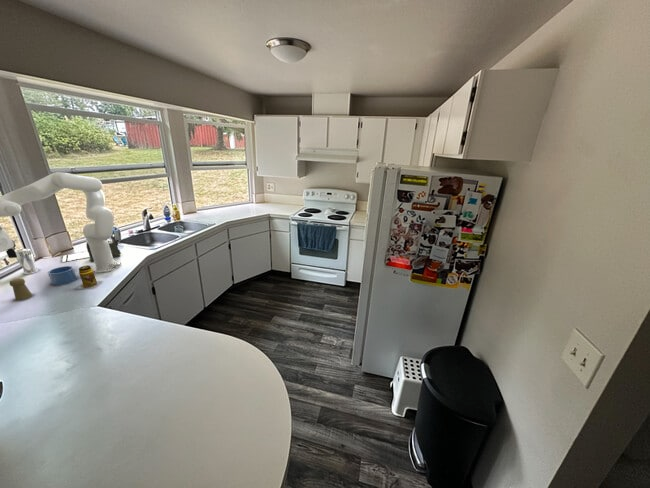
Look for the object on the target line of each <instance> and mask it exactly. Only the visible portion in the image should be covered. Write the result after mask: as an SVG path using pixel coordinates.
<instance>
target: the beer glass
mask: <svg viewBox="0 0 650 488" xmlns="http://www.w3.org/2000/svg"><path fill="white" fill-rule="evenodd" d="M15 252H16V255H17V257H16V258H15V259H16V261H17V262H18V263H19V264H20V266H21V267H22V270H23V274H24V275H29V274H34V273H37V272H39V269H38V267H37V266H36V263H35V256H34V253H33V251H32V250H31V248H19V249H15Z"/></svg>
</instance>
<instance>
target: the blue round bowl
mask: <svg viewBox="0 0 650 488" xmlns="http://www.w3.org/2000/svg"><path fill="white" fill-rule="evenodd" d="M47 274H48V277H49V280H50V282H51V285H53V286H62V285H68V284H71V283H73V282H75V281H76V280H77V275H76V272H75V270H74V267H73V266H70V265H64V266H58V267H55V268H53V269H50V270H48V271H47Z"/></svg>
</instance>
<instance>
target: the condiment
mask: <svg viewBox="0 0 650 488" xmlns="http://www.w3.org/2000/svg"><path fill="white" fill-rule="evenodd" d="M78 275H79V277H80V281H81V285H79V286H78V287H77V288H76V290H81V289H82V290H83V289H93V288H94V289H95V287H97V286H98V285H99V284H100V283H101V281H97V278H96V274H95V272H94V269H93V268H92V266H91V265H83V266H80V267H79V268H78Z"/></svg>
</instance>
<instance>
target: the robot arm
mask: <svg viewBox="0 0 650 488" xmlns="http://www.w3.org/2000/svg"><path fill="white" fill-rule="evenodd" d="M63 189H68V190H74V191H81V192H83V193H84V195H85V198H86V207H85V216H86V218H87V219H88V220H91V221H92V222H90V223H87V224H85V225H84V226H83V228H82V233H83V236H84V237H85V240H86V242H87V241H88V244H89V247H90V250H91V253H92V256H93V259H94V261H93V263H94V265H95V268H94V269H93V272H94V273H97V274H101V273H108V272H112V271H114V270H117V269H118V268H119V267H122V262H121V261H118V262H117V261H116V260H115V259H114V257H113V256H112V253H111V250H110V246H109V243H108V240H110V239H111V238H112V237H111V236H112V235H114V224H115V223H114V222H115V217H114V213H113V211H112V210H111V209H109V208H108V207H106V197H105V193H104V192H103V190H102V189H103V182H102V181H101V180H100V179H98V178H96V177H93V176H84V175H79V174H75V173H69V172H62V171H56V172H52V173H50V174H48V175H46V176H44V177H42V178H40V179H38V180H36V181H34V182H32V183H30V184H28V185H25V186H22V187H20V188H17V189H15V190H12V191H10V192H7V193H5V194H3V195H0V218H4V217H6V218H7V217H16V216H18V215H20V214H21V212H22V211H23V210H22V206H23V205H25V204H28V203H31V202H35V201H36V202H37V201H42V200H46V199H48V198H50V197H52V196H53V195H55V194H56V193H58V192H60V191H62V190H63ZM15 251H16V240H15V239H12V238H11V236H10V234H9V233H8V231H7V230H6V229H5V228H3V225H2V223H1V222H0V253H2V252H5V253H6V256H7V257H8V259H17V258H16V257H17V255H16V252H15Z"/></svg>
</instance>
